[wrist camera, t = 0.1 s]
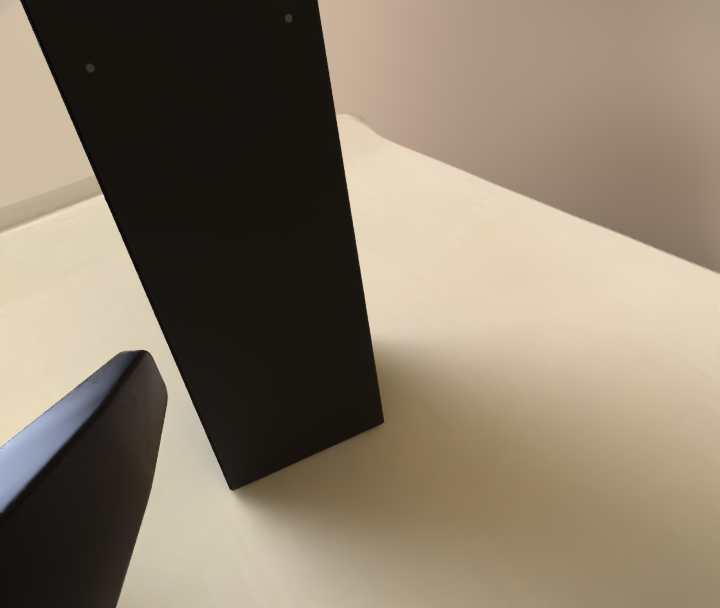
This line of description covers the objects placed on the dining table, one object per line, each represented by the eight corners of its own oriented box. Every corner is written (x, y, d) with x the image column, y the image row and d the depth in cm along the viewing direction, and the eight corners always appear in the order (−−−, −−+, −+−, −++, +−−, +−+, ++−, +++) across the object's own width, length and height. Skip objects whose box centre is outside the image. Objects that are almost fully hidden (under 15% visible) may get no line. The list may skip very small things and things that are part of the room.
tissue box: (387, 425, 30) (245, -488, 13) (230, 496, 28) (-192, -477, 11) (325, 334, 36) (172, -373, 19) (192, 387, 34) (-119, -352, 16)
